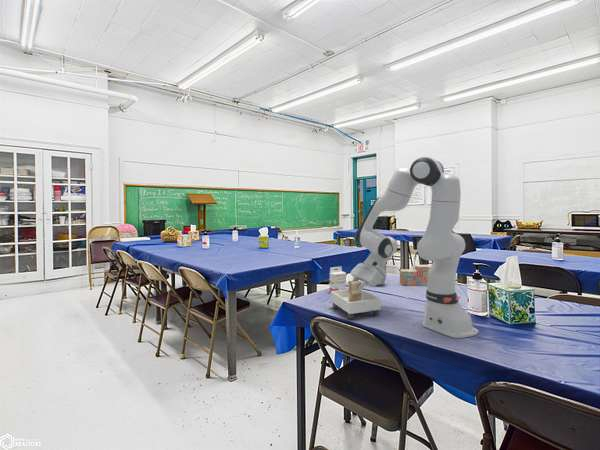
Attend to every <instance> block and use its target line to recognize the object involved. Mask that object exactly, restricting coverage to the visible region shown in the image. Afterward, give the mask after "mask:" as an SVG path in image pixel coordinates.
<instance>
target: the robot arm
mask: <svg viewBox="0 0 600 450" xmlns="http://www.w3.org/2000/svg"><path fill="white" fill-rule="evenodd" d="M420 184H421V185H425V186H427V187H430V189H431V202H430V212H429V213H430V214H429V219H428V223H427V227H426V228H425V231H424V234H423V236H422V237H421V238H420V239H419V241H418V242H417V244H416V245H417V246H416V250H417V254H418V256H419V257H420V258H421V259H423V260H425V261H430V262H432V264H431V265H432V266H431V268H430V269H429V271H428V274H427V286H426V288H427V289H426V291H425V298H426V302H425V307H424V311H423V312H424V314H423V318H422V322H421V326H422V327H424V328H426V329H429V330H432V331H434V332H437V333H440V334H442V335H445V336H447V337H450V338H455V339H459V338H460V339H462V338H469V337H474V336H476V335H478V334H479V332H480V330H478V329H477V328H476V327H474V326H473V322H472V318H471V316H470V314H469V313H468V311H466V310H465V308H464V307H463V306H462V305H461V304H460V302H459V301H460V300H459V299H461V296H458V294H457V292H456V275H457V270H458V266H459V262H460V259H461V257H462V254H463V253H464V251H465V249H466V242H465V238H463V237H462V236H461V235H460V234H458V233H454V232H453V230H454V228H455V226H456V225H457V223H458V222H459V219H460V208H461V194H462V193H461V182H460V179H459V177H458V176H456V175H454V174H452V173H451V174H450V173H445V169H444V166H443V164H442V162H440V161H438V160H437V159H435V158H432V157H429V156H428V157H426V156H423V157H419V158H417V159H415V160H414V161H413V162H411V165H410V168H408V167H399V168H397V169H396V170H395V171H394V173H393V174H392V176H391V179H390V181H389V182H388V184H387V188H386V190H385V191H384V193H383V194H382V195H381V196H379V197H377V198H376V199H375V200H374V202H373V204H371V206H370V208H369V210H368V212H367V213H366V215H365V218H364V219H363V220H362V223H361V224H360V225H359V227H358V228H357V230H356V231H355V232H354V233H355V234H354V241H355V243H356V245H359V246H360V247H363V248H365V249H367V250H368V251H369V252H370V253H371V251H372V252H373V253H371V254H370V253H369V255H368V256H367V258H366V259H365V260H364V261H363V262H360V263H357V265H356V266H355V267H353V269H352V270H350V275H351V276H352V281H354V280H357V281H360V282H361V284H360V285H358V287H357V288H358V289H360V290H361V289H362V290H363V288H365V287H366V286H368V285H370V286H373V287H374V286H375V287H376V286H378V285H377V284H378V283H379V281H380V280H381V279H382V277H383V275H385V274H386V275H387V273H388V272H387V270H386V271H385V269H384V268H383V267H384V266H385V264H386V265H387V262H388V261H390V260H391V259H392V257H393V256H394V255H395V253H396V252H397V249H398V247H399V244H398V242H397V241H396V239H395V238H393V237H392V236H387V235H384V234H383V233H381V232H378V231H376V230H375V229H373V228H374V225H375V223H376V221H377V219H378V217H379V216H380V214H382V213H383V212H397V211H398V212H399V211H400V210H403V209H404V208H406V207H407V205H408V204H409V202H410V199H411V197H412V194H413V192H414V189H415V188H416V186H417V185H420Z"/></svg>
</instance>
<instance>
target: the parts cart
mask: <svg viewBox="0 0 600 450" xmlns="http://www.w3.org/2000/svg"><path fill="white" fill-rule="evenodd" d="M330 302H331V303H332V308H333V309H334V310H335V309H338V308H340V309H342V310H343V311H344V312H347V315H346V316H347V318H348V320H354V318H355V314H359V313H367V312H371V313H372V315H373V316H376V317H377V316H379V313H380V312H379V310H381V307H382V305H381V304H382V303H381V302H382V301H381V298H380V297H377V296H376V295H374V294H372V293H370V292H367V291H366V290H364V289H363V288H362V289H361V301H357V302H349V301H348V289H347V288H346V290H339V291H331V292H330Z"/></svg>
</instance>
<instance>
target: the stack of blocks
mask: <svg viewBox="0 0 600 450" xmlns="http://www.w3.org/2000/svg"><path fill="white" fill-rule="evenodd" d="M431 266H432V264H414V269H407V268H404V269H400V270H399V284H400V285H401V286H402V287H403V286H404V287H427V274H428V271H429V269H430V268H431Z"/></svg>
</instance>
